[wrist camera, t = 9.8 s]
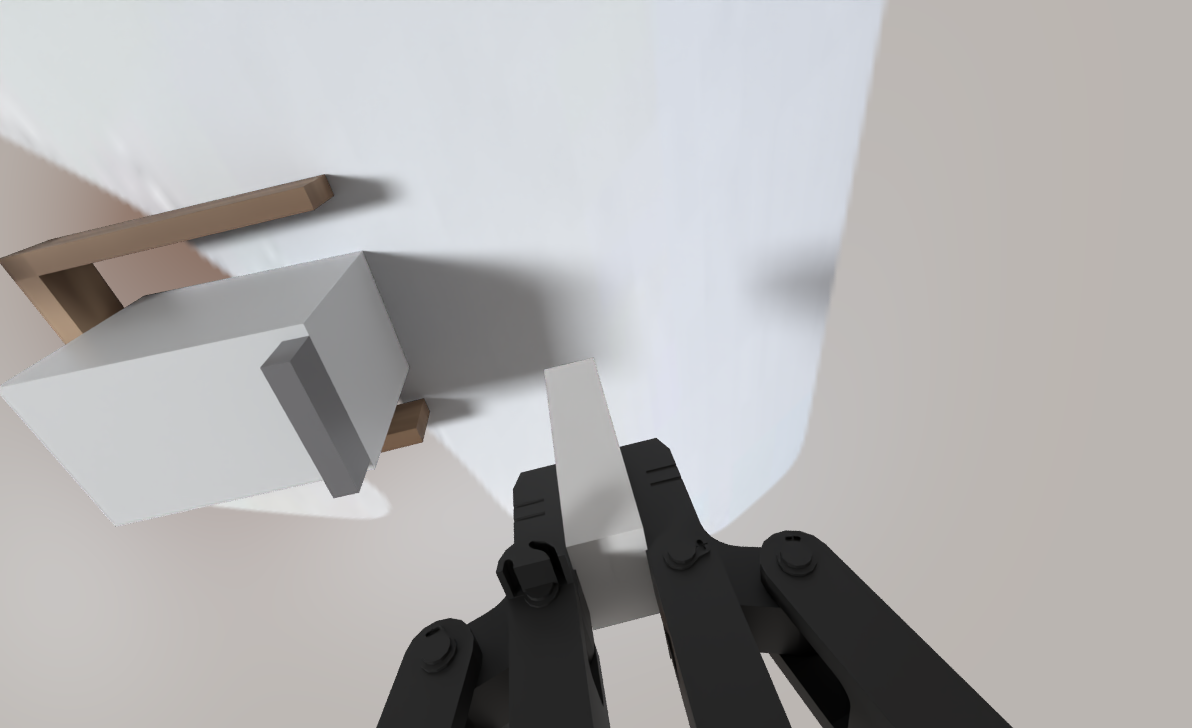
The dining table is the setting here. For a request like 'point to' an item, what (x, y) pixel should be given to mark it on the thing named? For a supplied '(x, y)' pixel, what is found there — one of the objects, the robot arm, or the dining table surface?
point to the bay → (83, 298)
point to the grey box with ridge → (222, 391)
